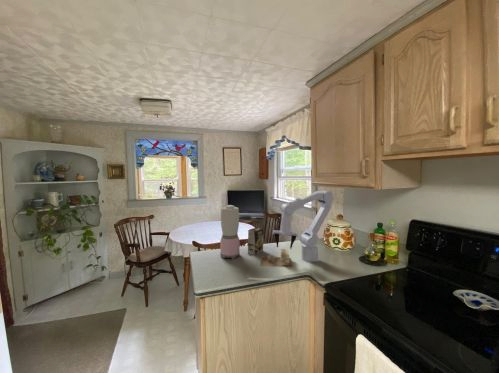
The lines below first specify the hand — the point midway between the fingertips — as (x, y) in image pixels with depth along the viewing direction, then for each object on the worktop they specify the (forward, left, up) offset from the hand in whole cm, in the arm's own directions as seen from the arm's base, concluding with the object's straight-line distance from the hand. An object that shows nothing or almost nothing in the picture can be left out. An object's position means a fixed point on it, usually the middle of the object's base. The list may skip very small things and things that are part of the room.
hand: (284, 247), depth 128 cm
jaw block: (-1, 0, -9) cm, 9 cm away
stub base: (+4, 0, -10) cm, 11 cm away
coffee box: (+18, -14, -10) cm, 24 cm away
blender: (+33, -10, -10) cm, 36 cm away
